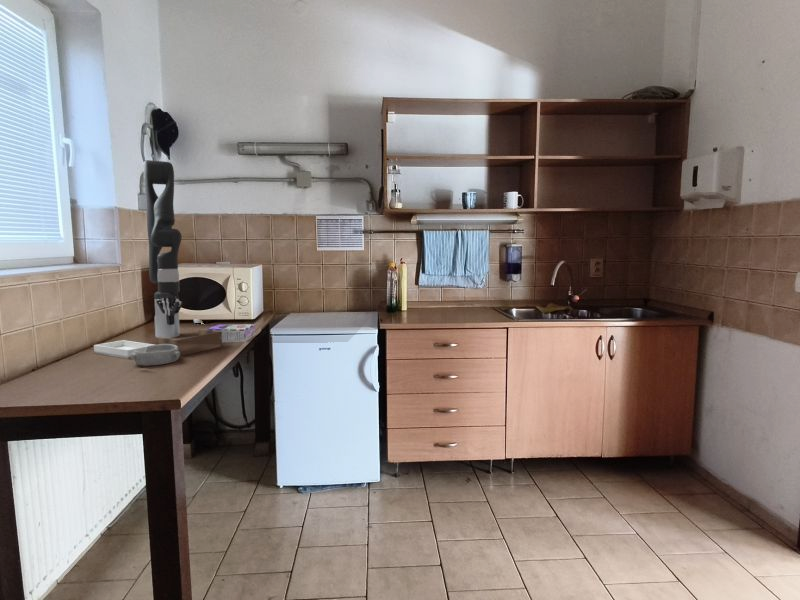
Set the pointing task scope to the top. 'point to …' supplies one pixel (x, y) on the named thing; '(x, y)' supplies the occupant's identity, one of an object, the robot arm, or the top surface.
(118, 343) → the tray
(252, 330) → the candy box
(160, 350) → the dish
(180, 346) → the bay
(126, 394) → the top surface
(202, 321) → the mug
